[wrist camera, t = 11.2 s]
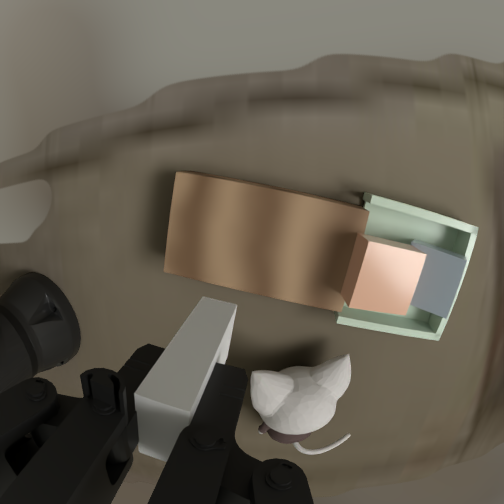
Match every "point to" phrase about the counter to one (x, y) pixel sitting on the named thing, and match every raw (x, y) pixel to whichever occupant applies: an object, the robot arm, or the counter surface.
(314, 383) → the toy
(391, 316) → the tray
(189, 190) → the board
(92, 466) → the robot arm
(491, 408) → the counter surface
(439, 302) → the tile
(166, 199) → the counter surface
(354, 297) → the tile
